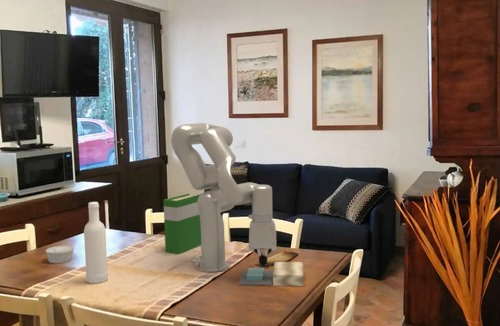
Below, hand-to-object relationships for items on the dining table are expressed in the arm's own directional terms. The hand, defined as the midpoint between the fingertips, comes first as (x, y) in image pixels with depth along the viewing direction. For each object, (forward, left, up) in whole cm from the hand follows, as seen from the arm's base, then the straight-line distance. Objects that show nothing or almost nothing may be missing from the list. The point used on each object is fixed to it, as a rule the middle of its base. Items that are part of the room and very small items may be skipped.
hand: (263, 265), depth 201 cm
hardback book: (-39, +40, -5) cm, 56 cm away
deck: (+10, 0, -5) cm, 11 cm away
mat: (-2, 0, -5) cm, 6 cm away
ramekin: (-89, +20, -5) cm, 91 cm away
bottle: (-63, -5, -5) cm, 63 cm away
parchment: (+5, +24, -6) cm, 26 cm away
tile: (-3, 0, -3) cm, 4 cm away
